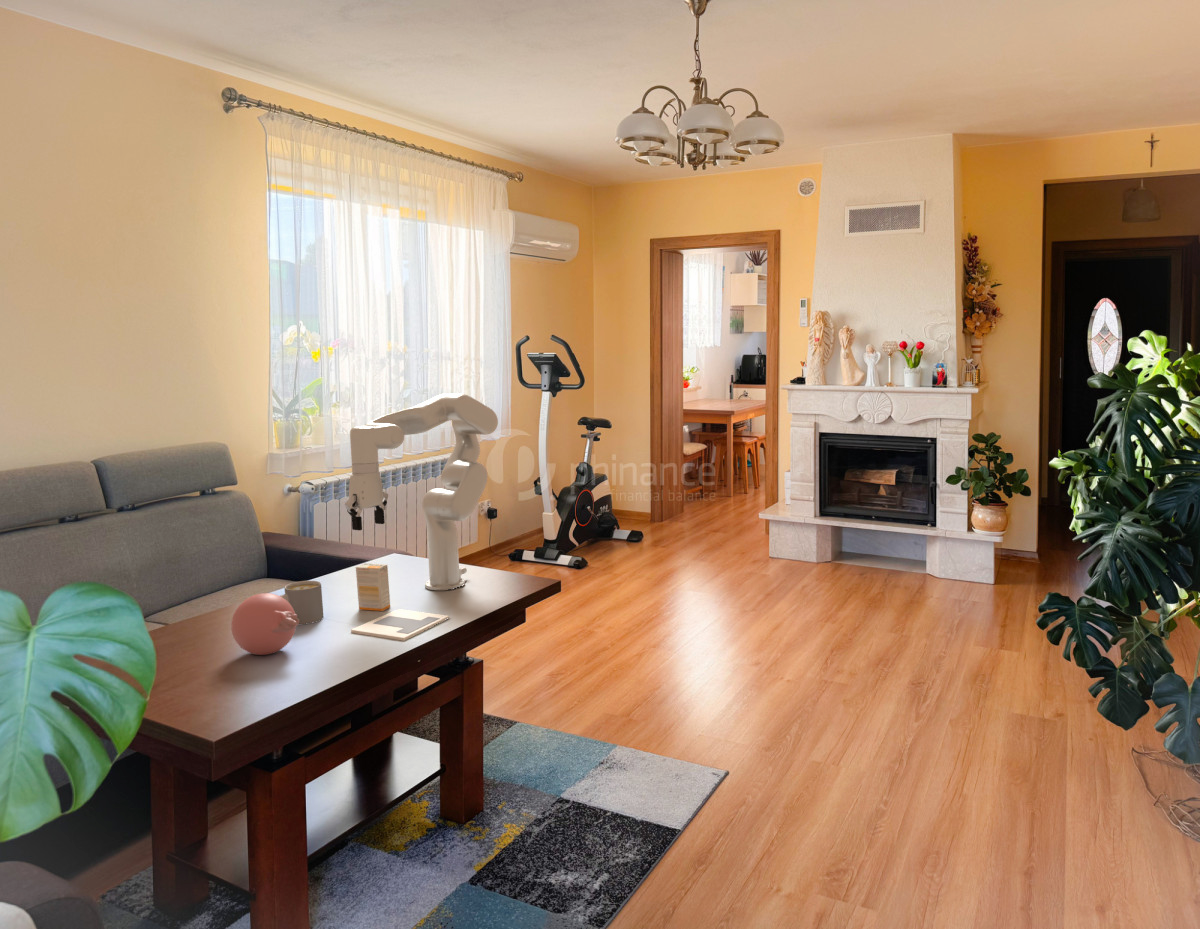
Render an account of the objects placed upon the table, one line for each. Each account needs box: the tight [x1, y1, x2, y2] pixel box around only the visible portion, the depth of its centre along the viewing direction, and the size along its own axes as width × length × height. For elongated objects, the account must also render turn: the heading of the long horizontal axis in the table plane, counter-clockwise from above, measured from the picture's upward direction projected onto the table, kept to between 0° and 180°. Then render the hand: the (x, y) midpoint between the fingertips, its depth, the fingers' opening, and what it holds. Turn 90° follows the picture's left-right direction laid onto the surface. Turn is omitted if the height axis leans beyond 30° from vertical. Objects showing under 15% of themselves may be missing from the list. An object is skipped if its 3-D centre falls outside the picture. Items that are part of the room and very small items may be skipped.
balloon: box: [230, 592, 299, 656], centre depth 218 cm, size 15×20×15 cm
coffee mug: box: [279, 580, 324, 625], centre depth 247 cm, size 13×10×10 cm
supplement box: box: [355, 563, 391, 612], centre depth 256 cm, size 8×5×13 cm, turn 71°
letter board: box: [350, 608, 450, 642], centre depth 240 cm, size 20×18×1 cm
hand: (368, 526), depth 253 cm, fingers open, 9 cm apart
